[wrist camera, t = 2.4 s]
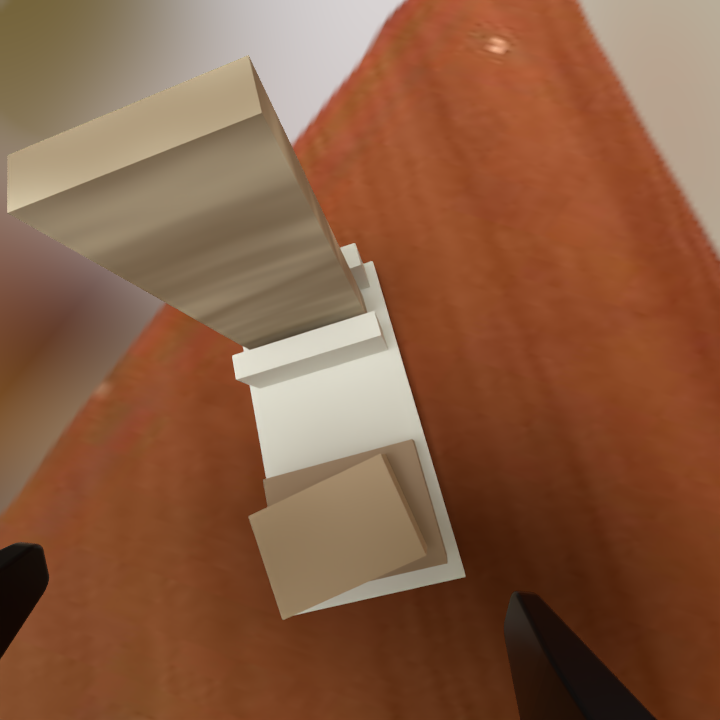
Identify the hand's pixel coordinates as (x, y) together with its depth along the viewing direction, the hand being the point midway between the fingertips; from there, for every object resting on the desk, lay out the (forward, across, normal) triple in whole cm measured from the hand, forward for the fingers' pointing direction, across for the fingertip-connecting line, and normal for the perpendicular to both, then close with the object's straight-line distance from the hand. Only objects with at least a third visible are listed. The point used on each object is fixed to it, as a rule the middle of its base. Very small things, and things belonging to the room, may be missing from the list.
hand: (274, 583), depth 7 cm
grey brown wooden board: (+14, +2, -2) cm, 15 cm away
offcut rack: (+13, 0, +3) cm, 13 cm away
